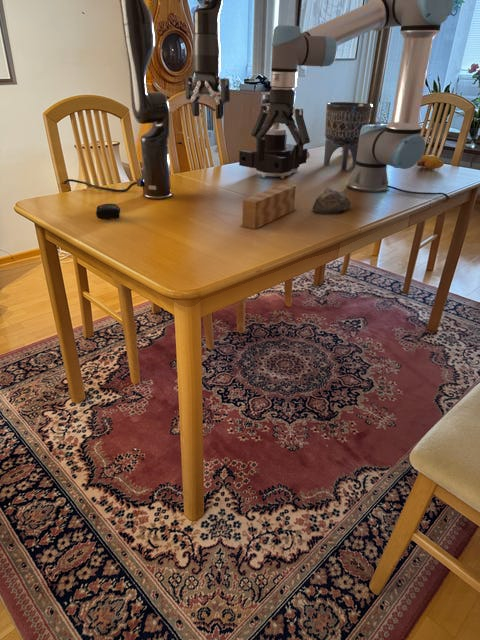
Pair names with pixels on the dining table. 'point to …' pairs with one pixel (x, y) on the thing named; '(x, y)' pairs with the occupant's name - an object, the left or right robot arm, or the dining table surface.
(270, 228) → the dining table surface
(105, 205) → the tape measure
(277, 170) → the mechanical component
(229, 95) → the left robot arm
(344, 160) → the planter
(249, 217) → the bar
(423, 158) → the toy
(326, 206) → the rock
